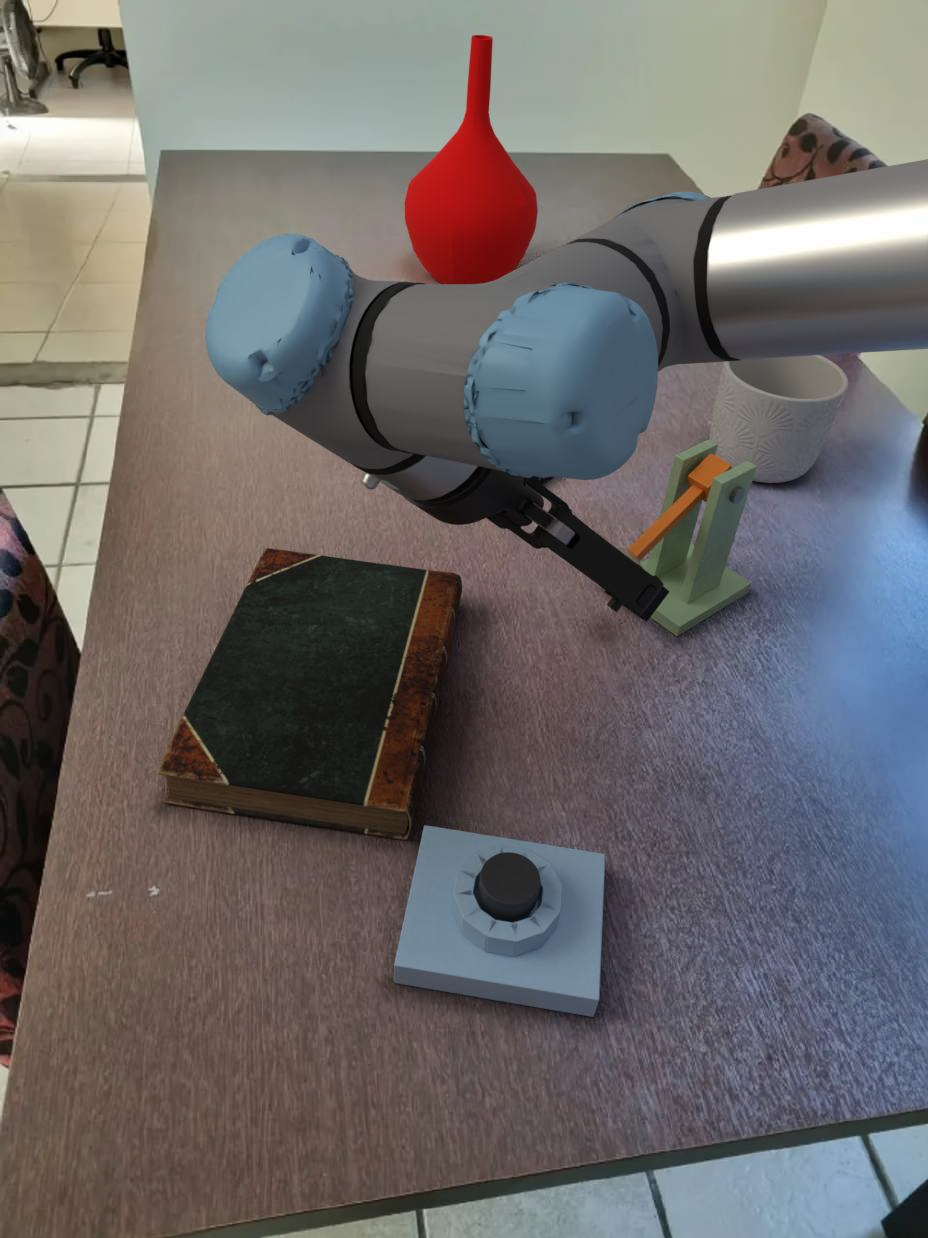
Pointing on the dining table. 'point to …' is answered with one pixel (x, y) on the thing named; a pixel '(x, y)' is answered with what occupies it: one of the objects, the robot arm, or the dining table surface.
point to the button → (509, 886)
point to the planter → (776, 413)
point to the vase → (471, 195)
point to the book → (319, 696)
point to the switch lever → (679, 506)
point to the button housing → (504, 925)
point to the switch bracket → (700, 545)
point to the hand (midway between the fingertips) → (587, 556)
